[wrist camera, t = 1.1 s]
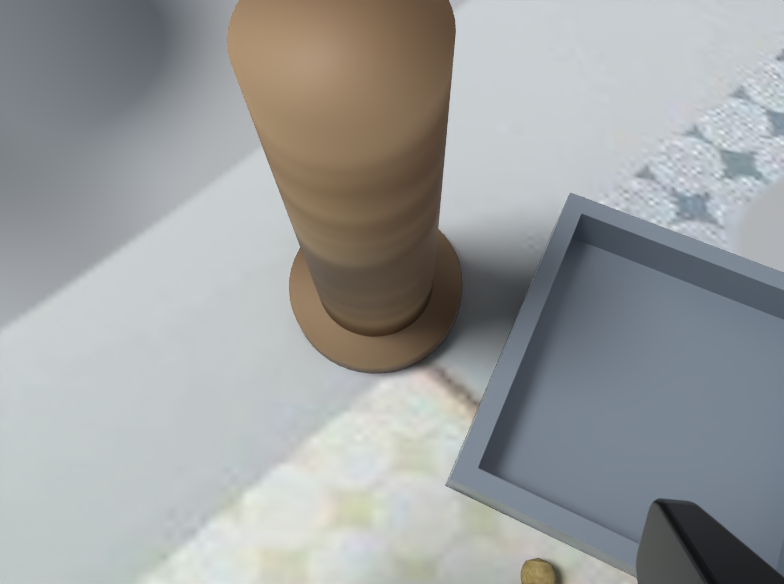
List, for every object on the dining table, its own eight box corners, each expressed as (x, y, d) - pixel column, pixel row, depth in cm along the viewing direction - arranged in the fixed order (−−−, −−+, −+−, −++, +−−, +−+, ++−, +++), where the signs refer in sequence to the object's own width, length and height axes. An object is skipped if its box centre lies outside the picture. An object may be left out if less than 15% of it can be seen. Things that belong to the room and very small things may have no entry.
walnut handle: (418, 402, 21) (428, 232, 9) (264, 331, 22) (101, 100, 10) (485, 254, 23) (562, -37, 11) (340, 196, 24) (275, -124, 12)
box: (767, 640, 18) (820, 655, 16) (445, 485, 20) (449, 478, 18) (836, 336, 21) (888, 311, 19) (554, 227, 23) (569, 192, 21)
